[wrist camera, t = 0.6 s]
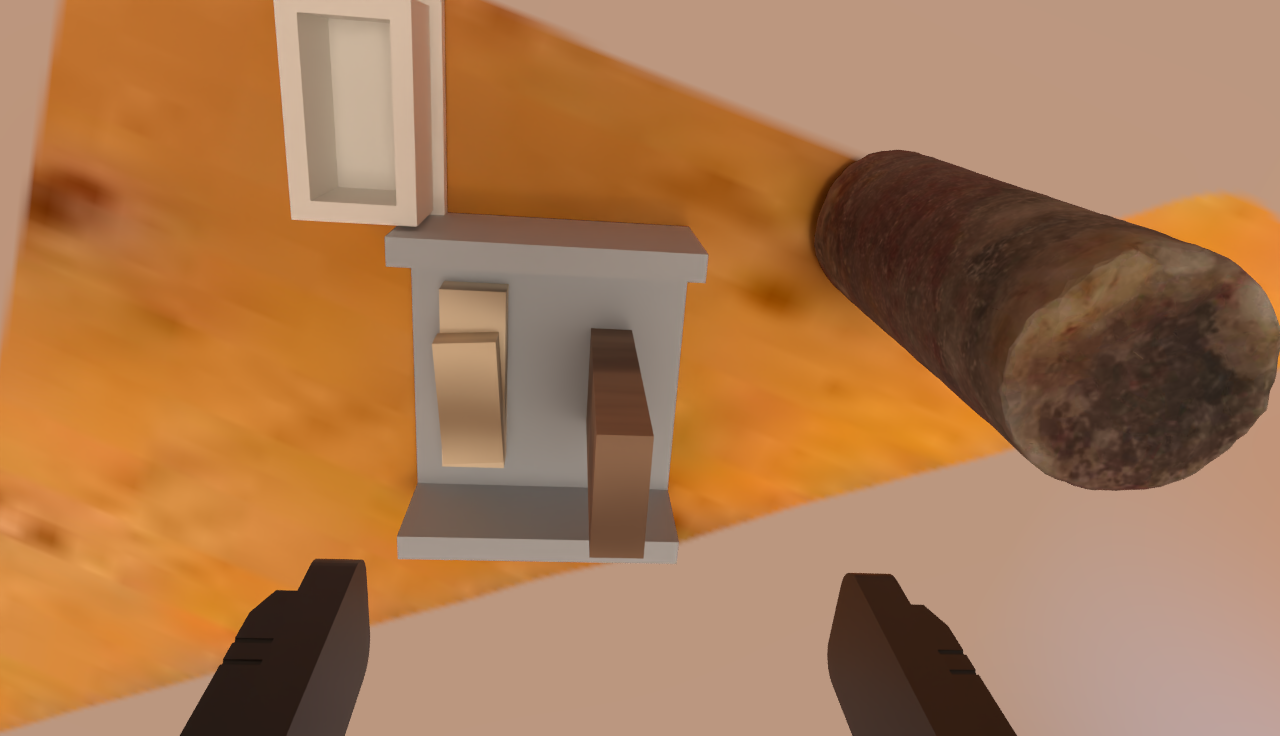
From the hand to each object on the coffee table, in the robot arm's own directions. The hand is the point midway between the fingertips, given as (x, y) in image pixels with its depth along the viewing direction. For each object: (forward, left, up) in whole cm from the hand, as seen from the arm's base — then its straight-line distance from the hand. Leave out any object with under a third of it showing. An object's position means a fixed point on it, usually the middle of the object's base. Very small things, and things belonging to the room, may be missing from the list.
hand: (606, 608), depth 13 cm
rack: (+6, -2, -27) cm, 28 cm away
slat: (+6, +1, -26) cm, 27 cm away
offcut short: (+6, -5, -24) cm, 26 cm away
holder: (-6, -10, -27) cm, 29 cm away
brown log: (-2, +14, -27) cm, 31 cm away
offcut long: (+6, -5, -26) cm, 27 cm away
